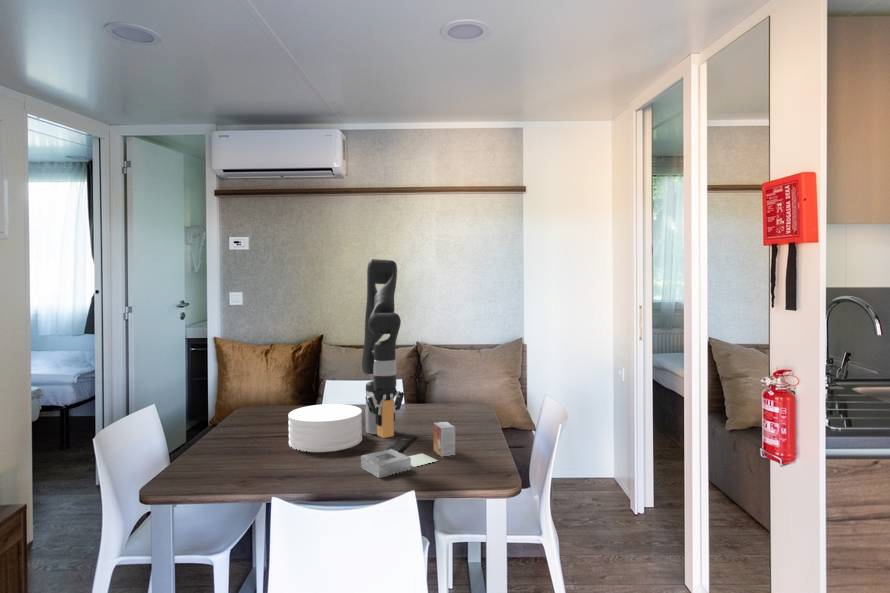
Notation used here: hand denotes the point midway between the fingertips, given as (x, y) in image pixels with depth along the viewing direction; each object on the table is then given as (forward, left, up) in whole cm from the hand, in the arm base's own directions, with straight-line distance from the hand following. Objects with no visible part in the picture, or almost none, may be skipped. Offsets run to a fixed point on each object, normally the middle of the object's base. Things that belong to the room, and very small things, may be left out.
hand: (385, 424), depth 180 cm
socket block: (0, 0, -15) cm, 15 cm away
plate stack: (-42, -3, -15) cm, 45 cm away
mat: (0, +13, -15) cm, 20 cm away
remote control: (-18, +17, -16) cm, 29 cm away
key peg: (0, 0, -4) cm, 4 cm away
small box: (-1, +25, -15) cm, 29 cm away
